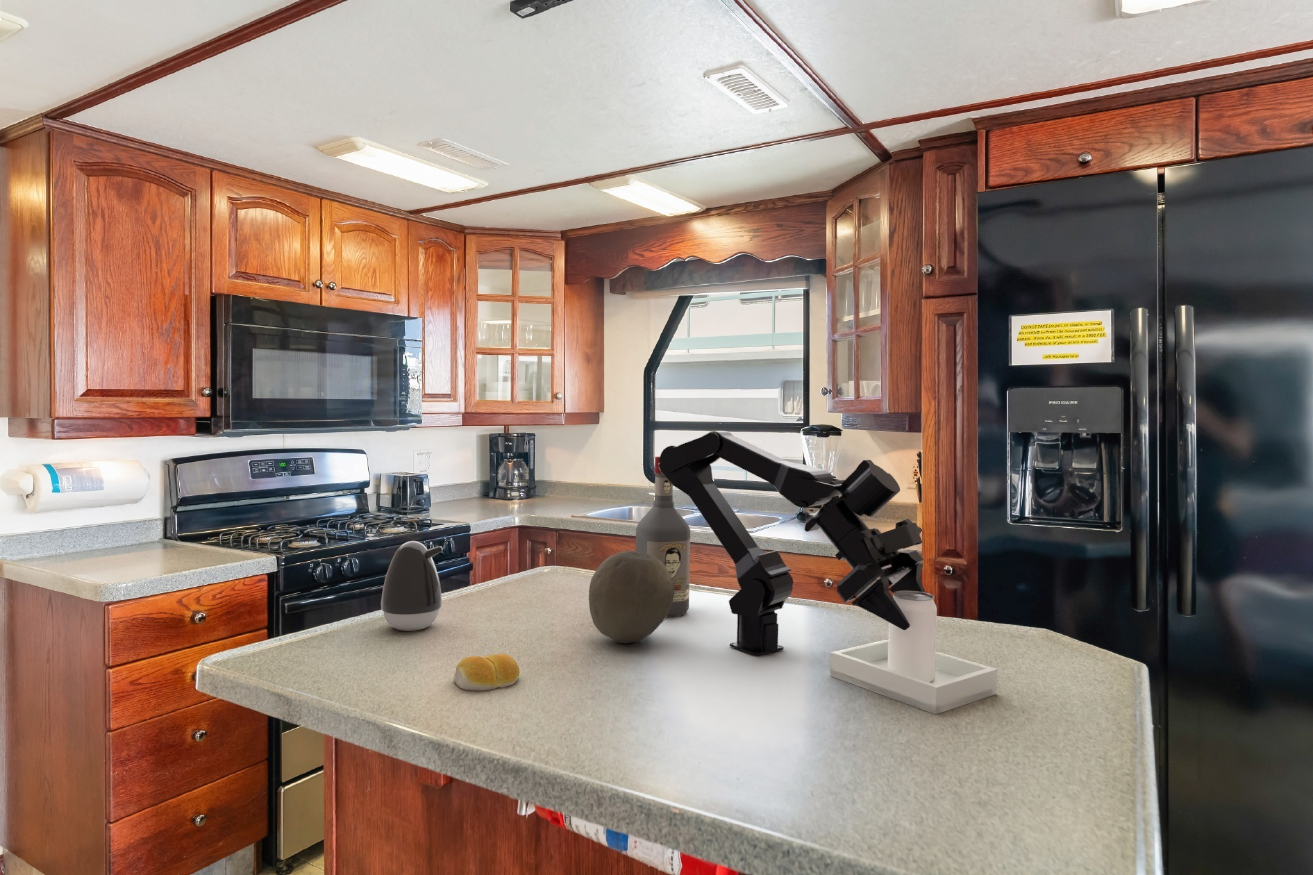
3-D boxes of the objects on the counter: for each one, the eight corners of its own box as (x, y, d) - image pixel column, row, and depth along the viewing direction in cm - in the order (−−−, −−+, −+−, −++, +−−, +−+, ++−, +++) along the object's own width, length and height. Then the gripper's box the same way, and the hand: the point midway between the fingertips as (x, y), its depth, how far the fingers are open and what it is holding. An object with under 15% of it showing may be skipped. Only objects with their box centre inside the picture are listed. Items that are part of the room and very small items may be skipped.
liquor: (630, 608, 157) (633, 455, 156) (672, 604, 160) (675, 455, 160) (649, 619, 148) (652, 458, 147) (693, 615, 152) (696, 458, 151)
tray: (830, 675, 118) (830, 652, 118) (890, 660, 126) (891, 638, 126) (935, 714, 103) (936, 687, 103) (996, 693, 111) (997, 669, 111)
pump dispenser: (432, 635, 135) (433, 546, 135) (372, 634, 135) (372, 545, 135) (449, 620, 145) (450, 537, 145) (393, 619, 145) (393, 536, 145)
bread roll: (528, 685, 112) (529, 657, 112) (467, 696, 107) (467, 667, 107) (505, 668, 119) (505, 642, 119) (446, 678, 114) (447, 651, 114)
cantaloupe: (636, 658, 125) (638, 563, 124) (570, 641, 133) (571, 552, 133) (688, 639, 136) (689, 551, 135) (624, 624, 144) (625, 542, 144)
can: (944, 681, 113) (947, 597, 113) (912, 688, 110) (915, 602, 110) (909, 667, 119) (911, 588, 119) (877, 674, 116) (880, 592, 115)
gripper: (859, 507, 109) (937, 600, 103) (912, 497, 124) (983, 578, 117) (807, 556, 115) (877, 648, 108) (863, 542, 129) (928, 622, 122)
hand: (920, 622), depth 114 cm, fingers open, 9 cm apart
